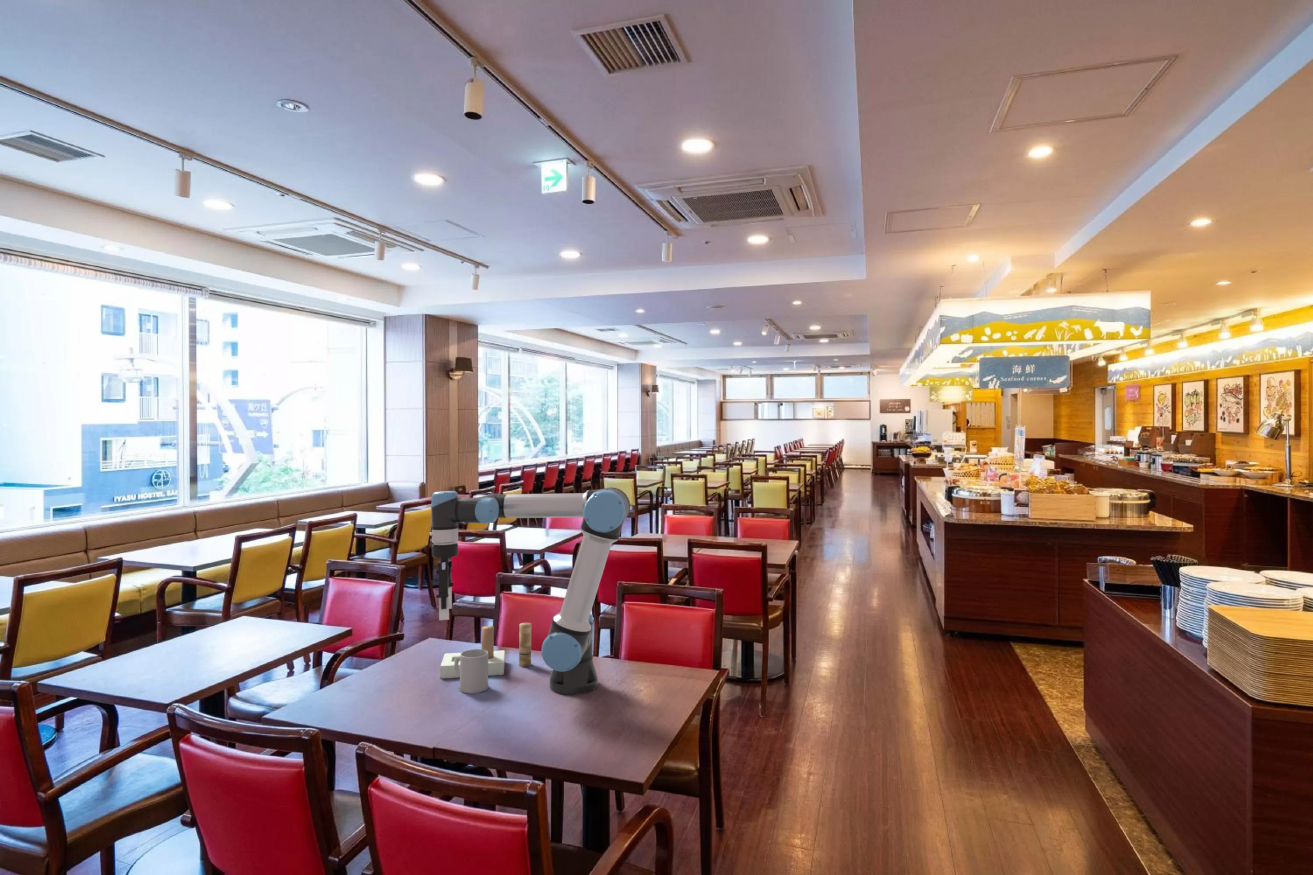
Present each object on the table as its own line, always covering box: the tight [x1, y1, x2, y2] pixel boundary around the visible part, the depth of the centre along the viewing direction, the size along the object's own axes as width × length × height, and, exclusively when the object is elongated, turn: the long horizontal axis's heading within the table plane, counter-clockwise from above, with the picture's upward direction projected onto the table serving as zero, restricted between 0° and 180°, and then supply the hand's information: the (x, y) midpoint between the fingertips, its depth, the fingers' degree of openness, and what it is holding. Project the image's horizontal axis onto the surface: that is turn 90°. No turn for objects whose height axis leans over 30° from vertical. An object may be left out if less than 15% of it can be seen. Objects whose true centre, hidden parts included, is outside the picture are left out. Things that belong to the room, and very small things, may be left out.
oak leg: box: [518, 622, 532, 668], centre depth 229 cm, size 4×4×14 cm
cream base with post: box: [439, 625, 506, 679], centre depth 224 cm, size 20×13×14 cm, turn 101°
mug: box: [454, 648, 489, 694], centre depth 207 cm, size 12×8×11 cm
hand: (445, 614), depth 199 cm, fingers open, 13 cm apart
